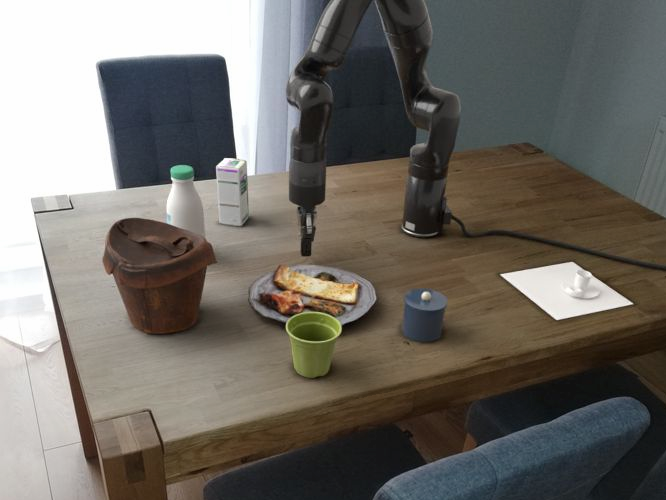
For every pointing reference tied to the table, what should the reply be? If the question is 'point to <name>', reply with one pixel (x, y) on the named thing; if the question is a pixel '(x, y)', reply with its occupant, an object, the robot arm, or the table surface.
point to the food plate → (311, 293)
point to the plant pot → (313, 342)
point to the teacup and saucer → (565, 290)
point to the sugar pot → (423, 314)
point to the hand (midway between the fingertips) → (305, 254)
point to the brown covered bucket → (158, 272)
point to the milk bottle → (185, 202)
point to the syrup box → (232, 191)
